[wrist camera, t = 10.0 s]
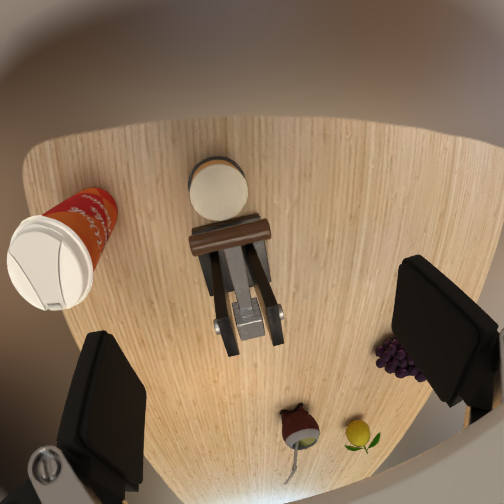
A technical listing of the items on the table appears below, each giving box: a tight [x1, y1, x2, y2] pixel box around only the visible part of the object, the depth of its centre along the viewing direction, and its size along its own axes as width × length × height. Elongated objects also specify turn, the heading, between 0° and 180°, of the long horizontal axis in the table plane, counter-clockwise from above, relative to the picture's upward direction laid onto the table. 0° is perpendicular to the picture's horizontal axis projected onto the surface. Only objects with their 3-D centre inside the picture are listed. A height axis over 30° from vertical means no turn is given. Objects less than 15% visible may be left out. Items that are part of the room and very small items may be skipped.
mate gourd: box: [280, 403, 320, 485], centre depth 49 cm, size 8×8×15 cm
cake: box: [188, 156, 248, 221], centre depth 32 cm, size 6×6×4 cm
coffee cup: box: [7, 188, 118, 311], centre depth 26 cm, size 8×8×15 cm
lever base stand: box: [192, 214, 284, 357], centre depth 32 cm, size 9×8×15 cm
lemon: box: [345, 420, 380, 454], centre depth 57 cm, size 7×6×10 cm
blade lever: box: [189, 219, 271, 341], centre depth 23 cm, size 12×5×2 cm, turn 11°
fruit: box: [375, 337, 426, 382], centre depth 48 cm, size 10×11×15 cm
